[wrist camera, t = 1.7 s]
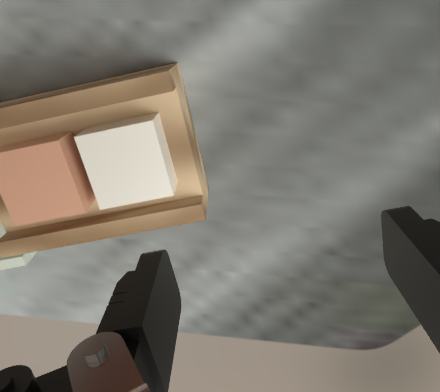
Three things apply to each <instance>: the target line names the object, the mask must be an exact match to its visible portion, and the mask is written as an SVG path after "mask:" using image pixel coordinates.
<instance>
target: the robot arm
mask: <svg viewBox="0 0 440 392" xmlns="http://www.w3.org/2000/svg"><path fill="white" fill-rule="evenodd" d="M381 222H382V237H383V252H384V260H385V265H386V268H387V271H388V273H389V275H390V277H391V278H392V280H393V282H394V283H395V285H396V286H397V288H398V289H399V291H400V292H401V294H402V296H403V297H404V299H405V300H406V302H407V303H408V305H409V306H410V308H411V309H412V311H413V313H414V314H415V316H416V317H417V319H418V320H419V322H420V323H421V325H422V327H423V328H424V330H425V331H426V332H427V334H428V336H429V337H430V339H431V340H432V342H433V344H434V345H435V347H436V348H437V350H438V351H439V353H440V222H438V221H436V220H434V219H427V220H423V219H422V218H421V217H420V216H419V215H418V214H417V213H416V212H415V211H414V210H413V209H412V208H411V207H410V206H405V207H400V208H394V209H389V210H383V211H382V214H381ZM180 313H181V298H180V292H179V288H178V285H177V282H176V278H175V275H174V272H173V268H172V265H171V262H170V259H169V255H168V253H167V251H166V250H159V251H153V252H148V253H143V254H141V256H140V259H139V261H138V264H137V267H136V270H135V271H129V272H127V273H126V274H125V275H124V276H123V277H122V278H121V279H120V280H119V281H118V282H117V284H116V287H115V289H114V292H113V296H111V299H110V301H109V305H108V306H107V308H106V311H105V313H104V315H103V318H102V320H101V323H100V325H99V327H98V330H97V332H96V334H95V335H93V336H91V337H89V338H87V339H85V340H84V341H82V342H81V343H79V344H78V345H77V346H76V347H75V348H74V349H73V350H72V352H71V353H70V355H69V357H68V360H67V365H66V366H64V367H61V368H59V369H57V370H54V371H52V372H49V373H47V374H44V375H42V376H39V377H37V378H35V377H34V375H33V373H32V371H31V369H30V368H29V367H27V366H23V365H16V366H12V367H8V368H5V369H3V370H1V371H0V392H168V388H169V382H170V375H171V369H172V363H173V357H174V350H175V344H176V337H177V332H178V325H179V319H180Z"/></svg>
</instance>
